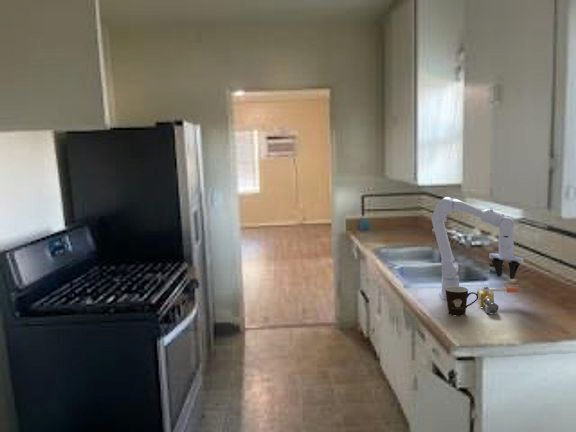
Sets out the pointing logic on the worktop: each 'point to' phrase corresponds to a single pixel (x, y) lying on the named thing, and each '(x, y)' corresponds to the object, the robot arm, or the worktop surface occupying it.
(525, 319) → the worktop surface
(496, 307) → the pipe valve
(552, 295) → the worktop surface
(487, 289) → the valve lever
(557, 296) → the worktop surface
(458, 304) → the coffee mug
